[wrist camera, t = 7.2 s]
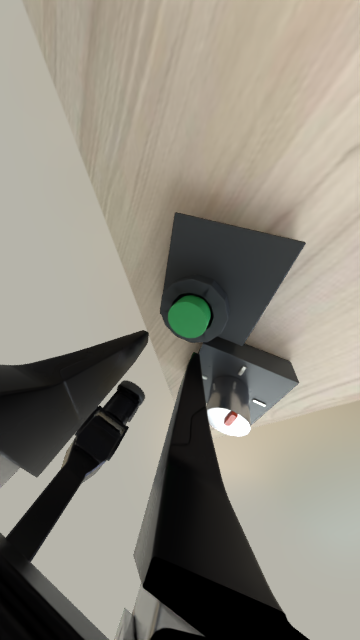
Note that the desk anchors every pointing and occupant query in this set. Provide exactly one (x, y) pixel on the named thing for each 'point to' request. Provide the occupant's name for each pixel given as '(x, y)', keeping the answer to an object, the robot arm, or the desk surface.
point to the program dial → (229, 406)
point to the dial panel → (248, 372)
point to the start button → (189, 316)
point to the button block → (225, 273)
